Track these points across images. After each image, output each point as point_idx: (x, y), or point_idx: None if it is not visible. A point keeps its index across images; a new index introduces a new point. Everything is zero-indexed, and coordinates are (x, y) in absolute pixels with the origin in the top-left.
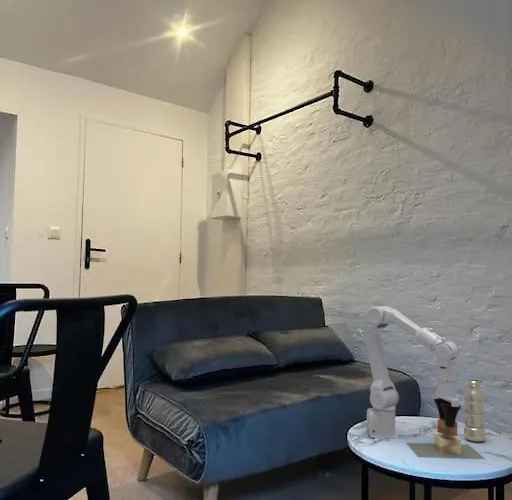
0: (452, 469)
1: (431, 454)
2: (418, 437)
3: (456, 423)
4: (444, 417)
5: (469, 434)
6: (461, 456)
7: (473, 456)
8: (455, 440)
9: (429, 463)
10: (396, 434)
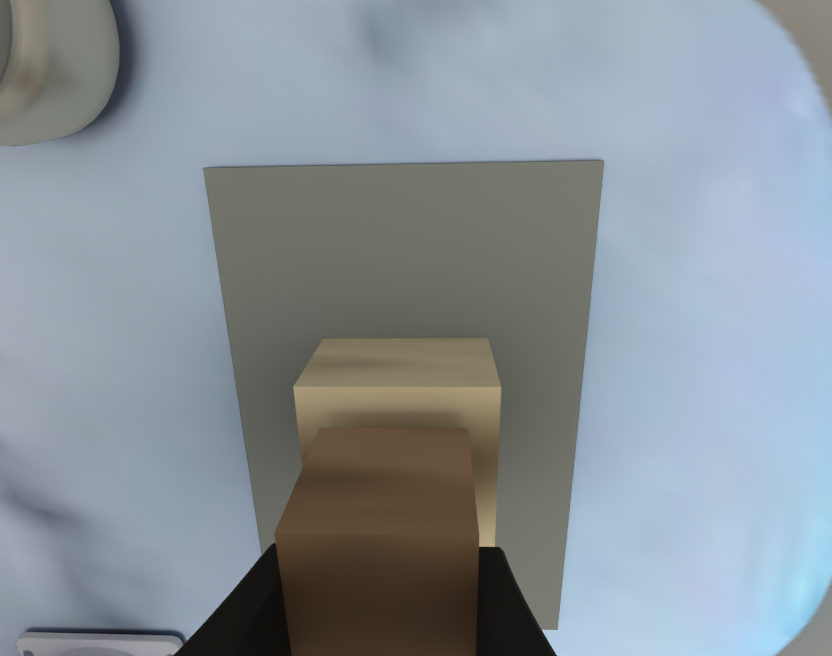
0: (773, 493)
1: (504, 543)
2: (99, 506)
3: (475, 533)
4: (280, 643)
5: (71, 118)
6: (542, 353)
7: (539, 251)
8: (490, 432)
9: (651, 589)
10: (115, 643)
